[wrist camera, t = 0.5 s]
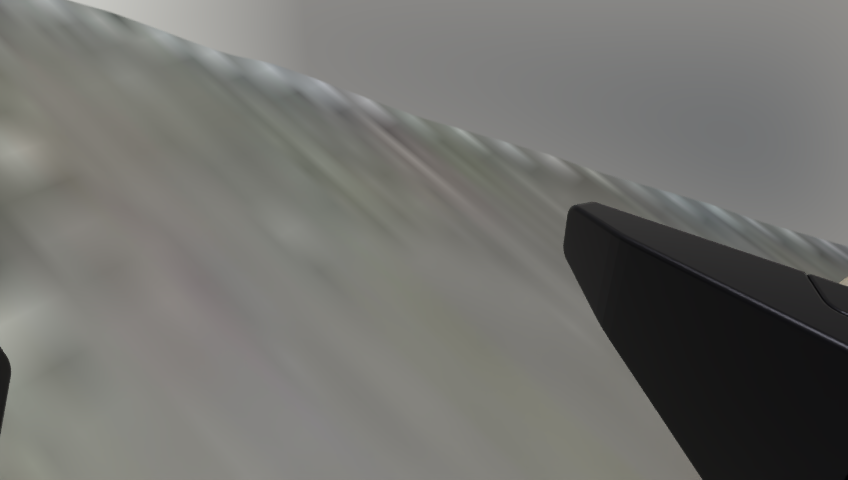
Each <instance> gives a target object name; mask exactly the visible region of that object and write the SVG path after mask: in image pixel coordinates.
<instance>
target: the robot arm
mask: <svg viewBox="0 0 848 480" xmlns="http://www.w3.org/2000/svg"><path fill="white" fill-rule="evenodd" d="M563 247H564V254H565V257H566V260H567V262H568V264H569V266H570V268H571V269H572V271H573V273H574V275H575V277H576V279H577V281H578V283H579V285H580V287H581V289H582V291H583V293H584V295H585V297H586V299H587V301H588V303H589V305H590V307H591V309H592V310H593V312H594V314H595V316H596V318H597V320H598V322H599V323H600V325H601V327H602V329H603V330H604V332H605V333H606V335H607V337H608V338H609V340H610V341H611V343H612V344H613V346H614V347H615V349H616V350H617V352H618V353H619V355H620V356H621V358H622V359H623V361H624V362H625V364H626V365H627V367H628V368H629V370H630V371H631V373H632V374H633V376H634V377H635V379H636V380H637V382H638V383H639V385H640V386H641V388H642V389H643V391H644V392H645V394H646V395H647V397H648V398H649V400H650V401H651V403H652V404H653V406H654V407H655V409H656V410H657V412H658V413H659V415H660V416H661V418H662V419H663V421H664V422H665V424H666V426H667V427H668V429H669V430H670V432H671V433H672V435H673V436H674V438H675V439H676V441H677V442H678V444H679V445H680V447H681V448H682V450H683V451H684V453H685V454H686V456H687V457H688V459H689V460H690V462H691V463H692V465H693V466H694V468H695V469H696V471H697V472H698V474H699V475H700V477H701V478H702V480H848V286H845V285H842V284H839V283H836V282H833V281H830V280H827V279H824V278H821V277H818V276H815V275H812V274H809V275H806V273H805V272H803V271H800V270H797V269H794V268H791V267H788V266H785V265H782V264H779V263H776V262H773V261H770V260H767V259H764V258H761V257H758V256H755V255H752V254H749V253H746V252H743V251H740V250H737V249H734V248H731V247H728V246H725V245H722V244H719V243H716V242H713V241H710V240H707V239H704V238H701V237H698V236H695V235H692V234H689V233H686V232H683V231H680V230H677V229H674V228H671V227H668V226H665V225H662V224H659V223H656V222H653V221H650V220H647V219H644V218H641V217H638V216H635V215H632V214H629V213H626V212H623V211H620V210H617V209H614V208H611V207H608V206H605V205H602V204H599V203H596V202H588V203H583V204H577V205H573V206H572V207H571V208H570V209H569V211H568V215H567V222H566V229H565V237H564V245H563ZM10 377H11V366H10V362H9V360H8V358H7V356H6V354H5V353H4V352H3V350H2V349H1V347H0V434H1V428H2V422H3V417H4V411H5V406H6V400H7V394H8V389H9V383H10Z"/></svg>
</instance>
